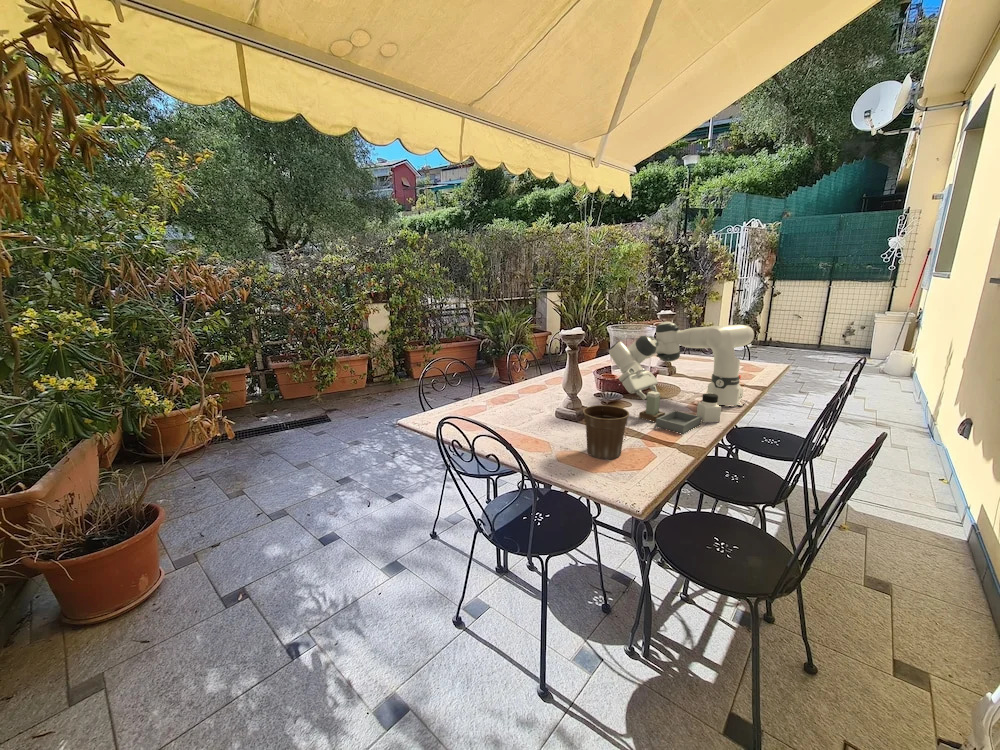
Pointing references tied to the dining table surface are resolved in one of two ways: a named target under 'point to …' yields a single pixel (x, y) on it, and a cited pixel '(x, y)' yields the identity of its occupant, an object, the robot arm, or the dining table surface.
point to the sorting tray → (678, 421)
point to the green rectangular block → (652, 403)
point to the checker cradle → (650, 417)
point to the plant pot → (605, 430)
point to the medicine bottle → (709, 408)
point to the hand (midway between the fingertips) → (651, 396)
